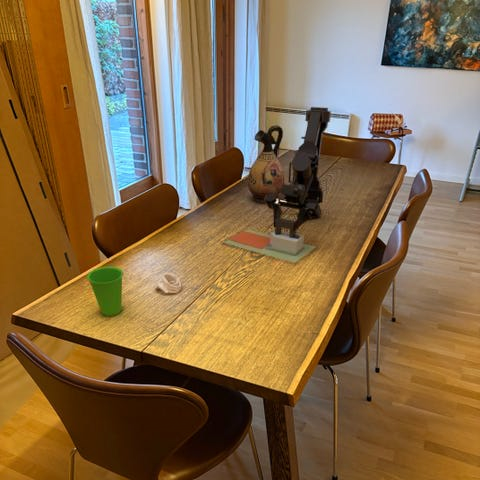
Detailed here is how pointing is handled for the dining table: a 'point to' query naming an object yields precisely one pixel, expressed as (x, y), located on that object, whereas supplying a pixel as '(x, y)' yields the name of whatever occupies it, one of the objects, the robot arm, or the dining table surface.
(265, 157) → the ceramic jug
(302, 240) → the iron
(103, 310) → the cup
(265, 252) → the ironing mat
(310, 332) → the dining table surface
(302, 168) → the robot arm
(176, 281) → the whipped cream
